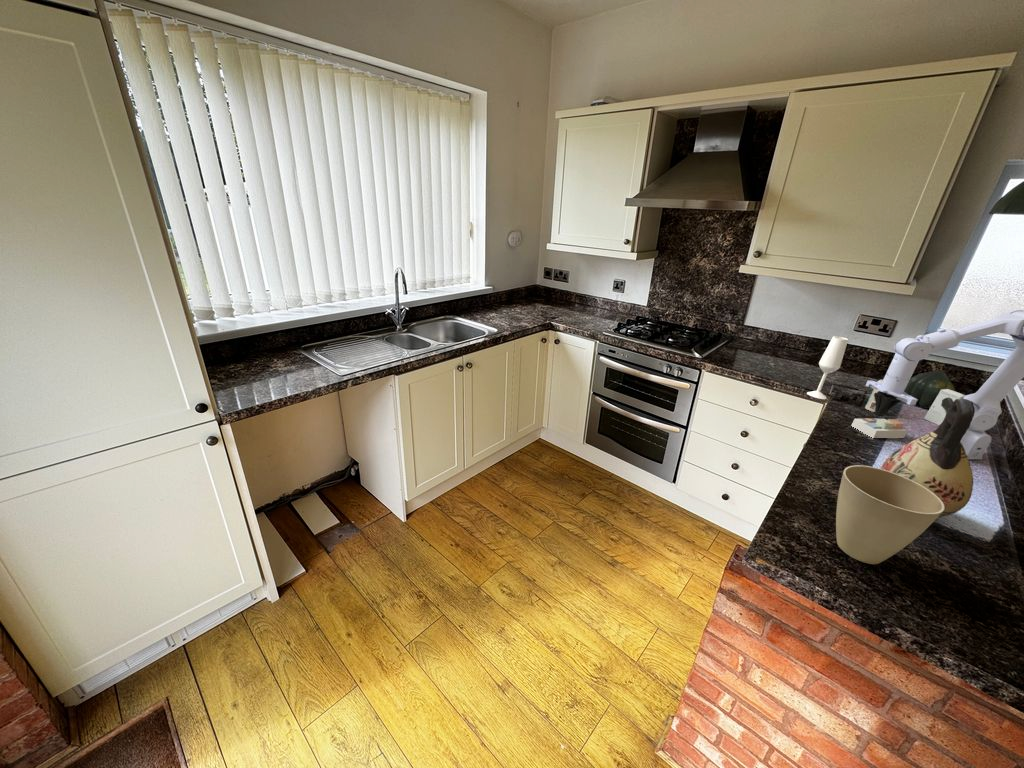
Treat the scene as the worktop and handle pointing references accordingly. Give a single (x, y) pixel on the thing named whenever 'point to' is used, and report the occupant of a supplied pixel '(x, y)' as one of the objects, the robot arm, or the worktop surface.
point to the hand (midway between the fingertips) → (879, 415)
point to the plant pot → (881, 513)
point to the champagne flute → (830, 361)
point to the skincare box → (936, 410)
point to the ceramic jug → (940, 458)
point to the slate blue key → (874, 425)
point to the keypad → (877, 433)
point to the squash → (928, 387)
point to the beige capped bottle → (872, 400)
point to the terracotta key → (896, 423)
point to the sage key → (885, 423)
